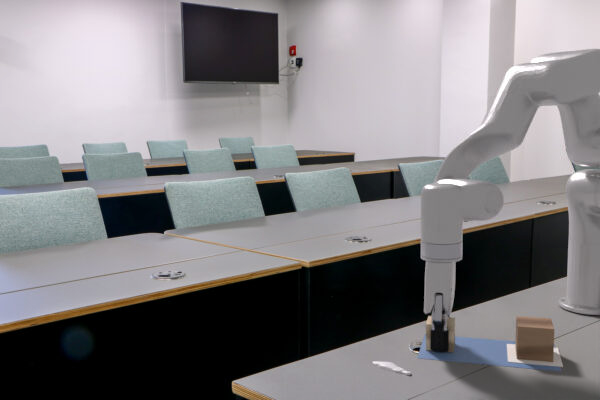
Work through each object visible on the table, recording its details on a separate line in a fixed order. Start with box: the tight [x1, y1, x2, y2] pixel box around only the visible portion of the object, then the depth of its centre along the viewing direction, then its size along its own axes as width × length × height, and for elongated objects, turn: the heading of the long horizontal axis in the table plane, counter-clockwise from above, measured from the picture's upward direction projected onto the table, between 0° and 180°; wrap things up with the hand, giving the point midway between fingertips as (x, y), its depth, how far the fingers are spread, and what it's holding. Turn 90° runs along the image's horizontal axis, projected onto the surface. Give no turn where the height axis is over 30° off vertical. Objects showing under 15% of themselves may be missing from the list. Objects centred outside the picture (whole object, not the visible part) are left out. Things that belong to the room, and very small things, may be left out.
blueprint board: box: [417, 333, 564, 372], centre depth 115 cm, size 24×13×1 cm, turn 73°
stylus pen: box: [372, 360, 412, 376], centre depth 111 cm, size 15×3×2 cm, turn 42°
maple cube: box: [425, 315, 456, 352], centre depth 117 cm, size 5×5×5 cm
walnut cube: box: [515, 315, 555, 362], centre depth 113 cm, size 6×6×6 cm
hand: (440, 344), depth 118 cm, fingers closed on maple cube, 4 cm apart
